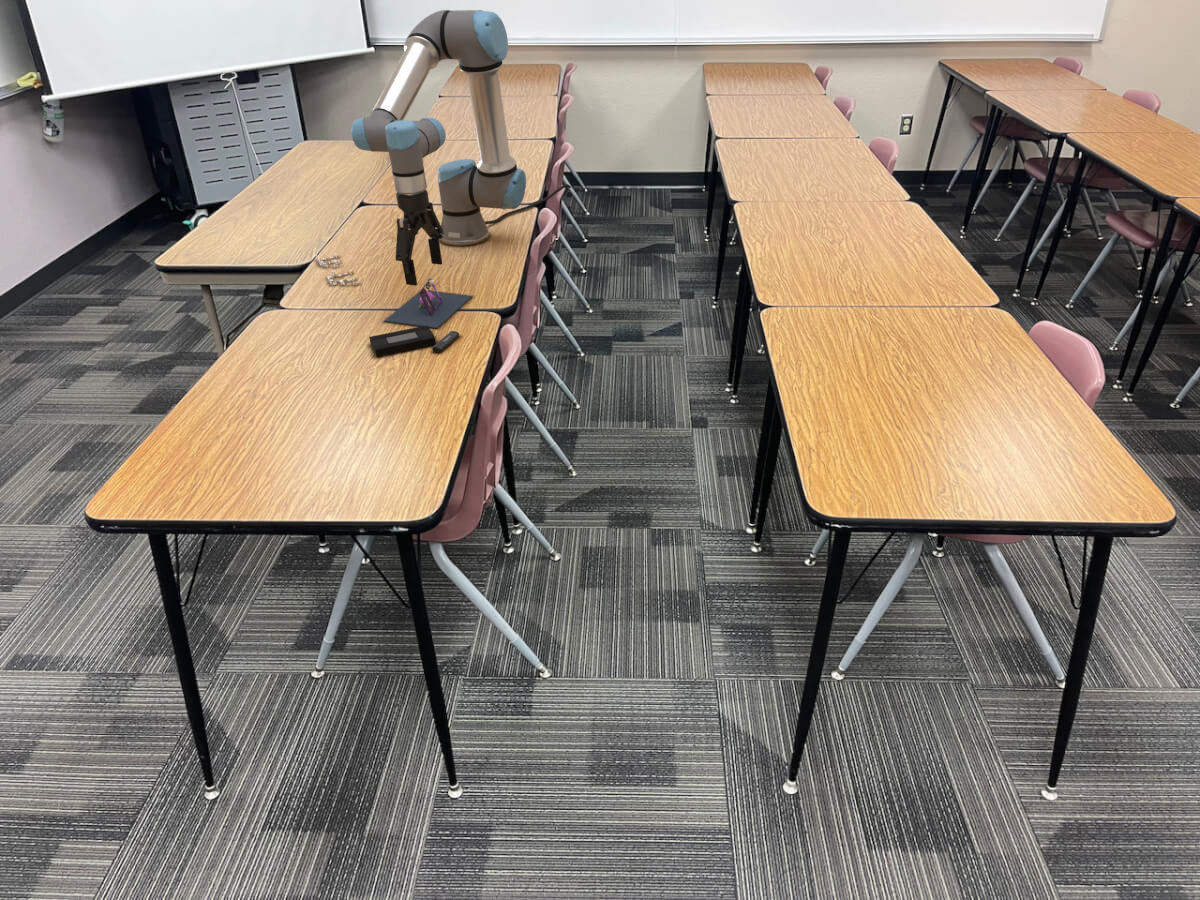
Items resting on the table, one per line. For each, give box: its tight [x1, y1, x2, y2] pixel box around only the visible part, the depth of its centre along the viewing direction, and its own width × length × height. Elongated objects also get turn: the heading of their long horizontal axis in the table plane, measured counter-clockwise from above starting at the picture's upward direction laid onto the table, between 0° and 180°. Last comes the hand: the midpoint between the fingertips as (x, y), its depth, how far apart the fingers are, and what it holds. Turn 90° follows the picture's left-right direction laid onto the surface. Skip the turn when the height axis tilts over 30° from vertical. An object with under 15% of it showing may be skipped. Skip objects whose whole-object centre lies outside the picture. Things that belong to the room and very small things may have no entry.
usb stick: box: [431, 330, 460, 353], centre depth 195 cm, size 10×3×2 cm, turn 158°
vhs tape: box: [368, 325, 437, 358], centre depth 195 cm, size 8×14×2 cm, turn 114°
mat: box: [384, 290, 473, 330], centre depth 212 cm, size 20×15×1 cm
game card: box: [418, 278, 442, 315], centre depth 211 cm, size 7×5×9 cm
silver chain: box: [315, 252, 358, 287], centre depth 234 cm, size 7×25×2 cm, turn 25°
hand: (424, 273), depth 207 cm, fingers open, 13 cm apart
